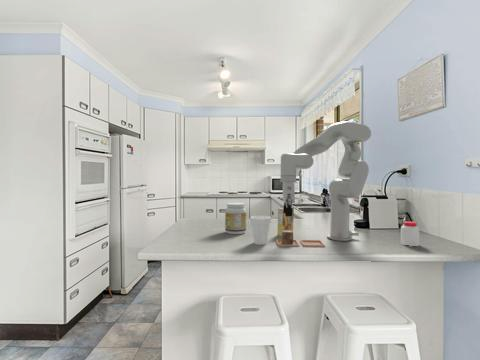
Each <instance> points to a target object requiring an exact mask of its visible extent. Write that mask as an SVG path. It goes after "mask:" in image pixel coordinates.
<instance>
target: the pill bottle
mask: <svg viewBox="0 0 480 360" xmlns="http://www.w3.org/2000/svg"><path fill="white" fill-rule="evenodd" d="M402 244H404V245H403V246H405V245H409V246H408V247H412V246H417V247H419V246H418V245H420V227H418V224H417V221H406V220H405V221H403V225H401V226H400V245H402Z"/></svg>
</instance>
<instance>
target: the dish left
mask: <svg viewBox="0 0 480 360" xmlns="http://www.w3.org/2000/svg"><path fill="white" fill-rule="evenodd" d="M299 241H300V244H301V245H302V247H304V248H308V247H309V248H325V247H326V244H325V243H324V242H323V241H322V240H321V239H320V240H319V239H300V240H299Z"/></svg>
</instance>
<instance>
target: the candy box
mask: <svg viewBox="0 0 480 360" xmlns="http://www.w3.org/2000/svg"><path fill="white" fill-rule="evenodd" d="M294 211H295V209H294V207H292V216H285V213H283V207H278V208H277V232H276V233H277V234H276V235H277V236H280V237H282V230H292V231H293V232H294V215H295V213H294Z"/></svg>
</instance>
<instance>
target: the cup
mask: <svg viewBox="0 0 480 360" xmlns="http://www.w3.org/2000/svg"><path fill="white" fill-rule="evenodd" d="M271 222H272V217H271V216H269V215H252V216H250V223H251V228H252V235H253V243H254V245H261V246H262V245H263V246H264V245H267V243H268V237H269V229H270V223H271Z"/></svg>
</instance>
